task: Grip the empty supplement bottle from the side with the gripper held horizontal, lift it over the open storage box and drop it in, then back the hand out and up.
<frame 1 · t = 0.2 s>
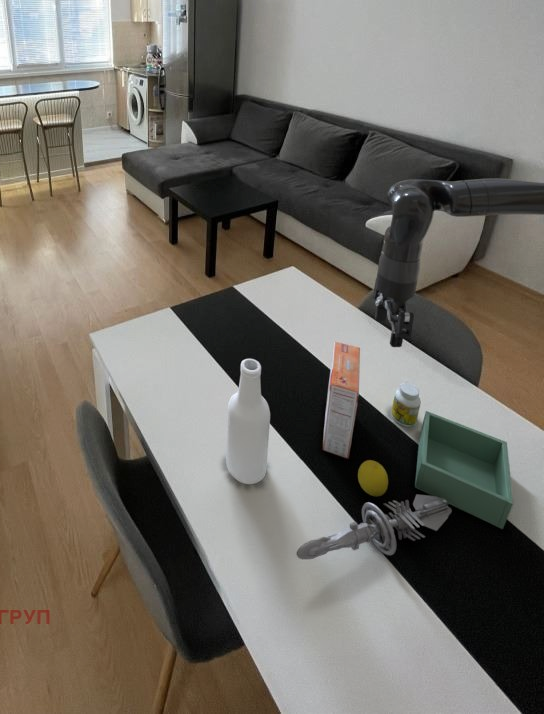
hand: (387, 332, 97), 26 cm above the table, tool pointing down, fingers open, 8 cm apart
cracker box: (336, 430, 103), on the table
lemon: (370, 491, 90), on the table
supplement bottle: (403, 418, 105), on the table
alcohol: (245, 467, 96), on the table
spaceship: (374, 541, 82), on the table
open storage box: (457, 476, 92), on the table
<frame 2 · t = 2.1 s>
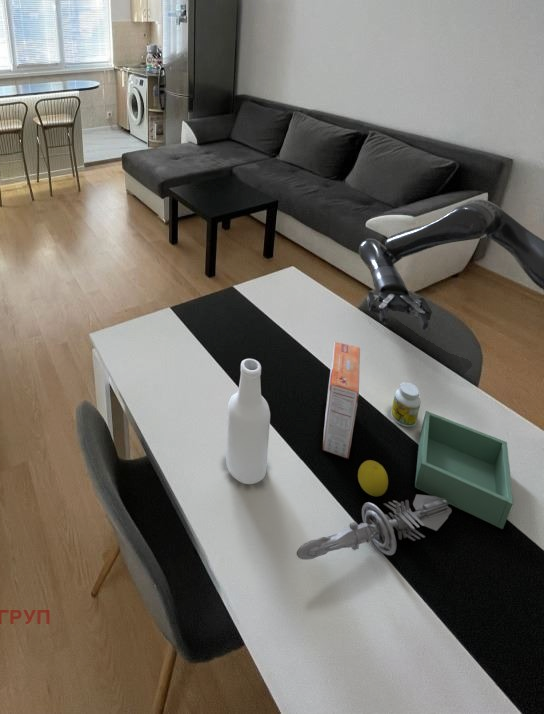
hand: (405, 324, 107), 20 cm above the table, tool horizontal, fingers open, 8 cm apart
nothing on the table moved.
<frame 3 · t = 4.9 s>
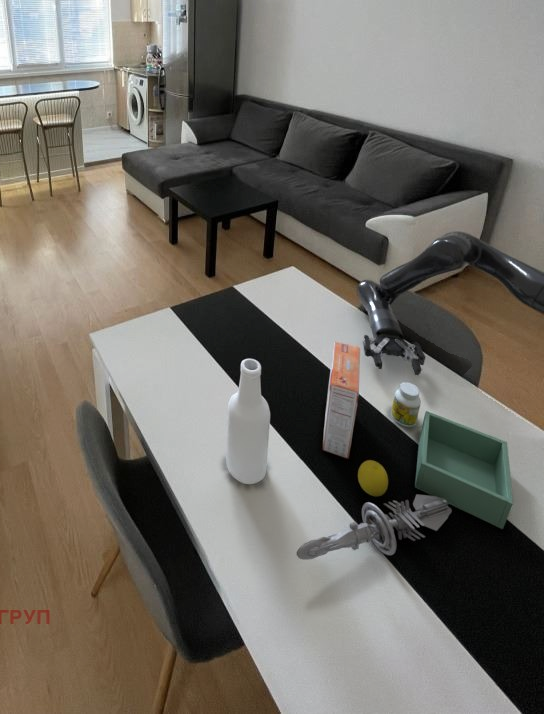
hand: (399, 370, 111), 7 cm above the table, tool horizontal, fingers open, 8 cm apart
nothing on the table moved.
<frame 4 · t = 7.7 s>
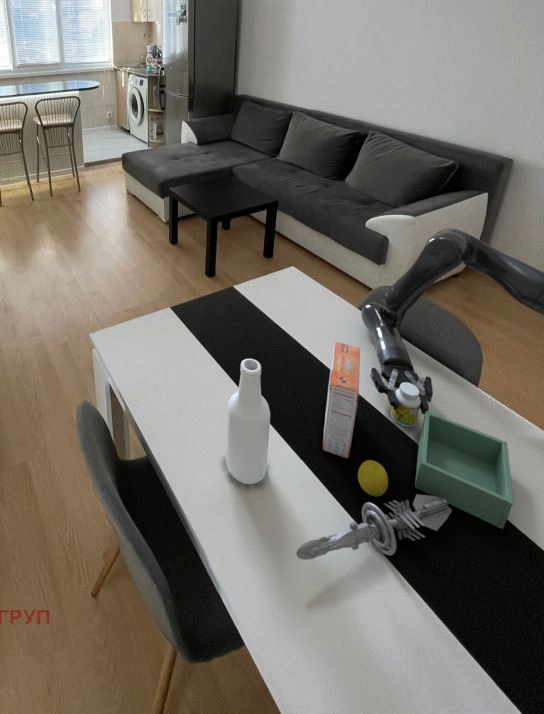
hand: (410, 408, 101), 6 cm above the table, tool horizontal, fingers closed on supplement bottle, 5 cm apart
supplement bottle: (403, 418, 105), on the table, touching gripper
everything else where it was.
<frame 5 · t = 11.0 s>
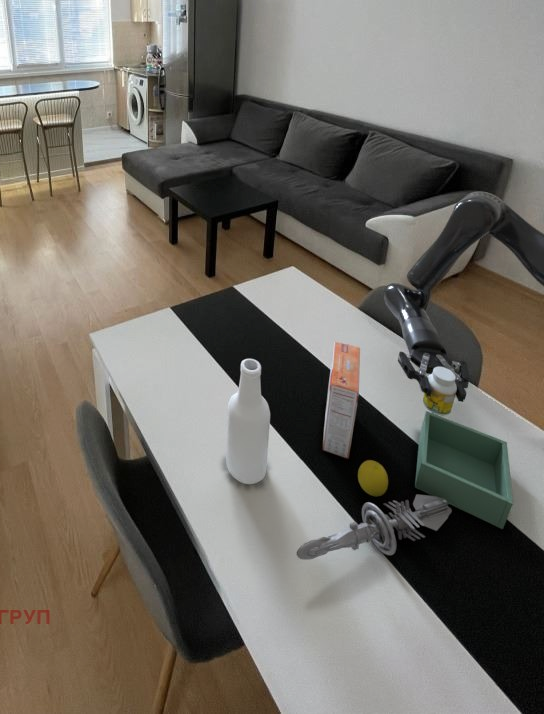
hand: (445, 395, 90), 18 cm above the table, tool horizontal, fingers closed on supplement bottle, 5 cm apart
supplement bottle: (435, 406, 95), point 11 cm above the table, touching gripper
everything else where it was.
when the fingers open (12 cm above the table, at t = 14.3 s): supplement bottle drops 5 cm, resting on open storage box.
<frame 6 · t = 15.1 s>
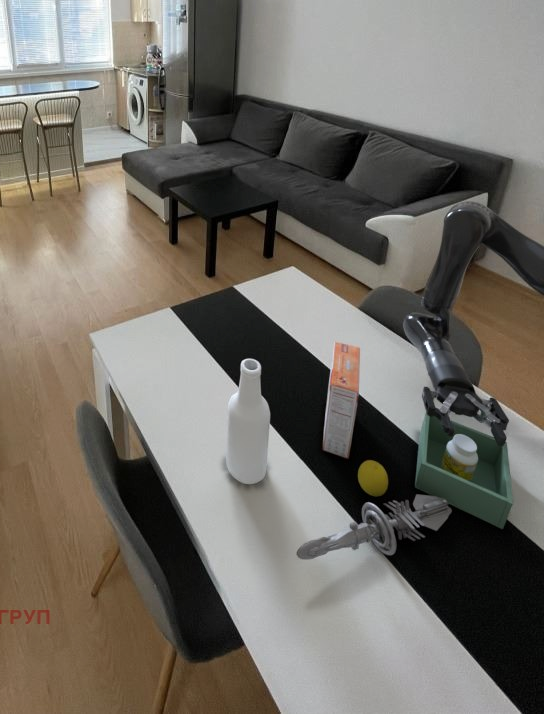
hand: (476, 438, 85), 14 cm above the table, tool horizontal, fingers open, 8 cm apart
supplement bottle: (455, 474, 92), resting on open storage box
everything else where it was.
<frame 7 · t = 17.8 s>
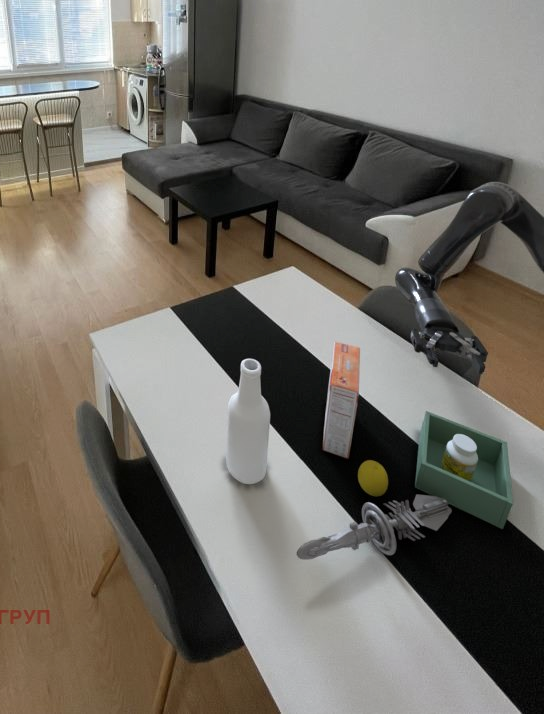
hand: (458, 367, 94), 20 cm above the table, tool horizontal, fingers open, 8 cm apart
nothing on the table moved.
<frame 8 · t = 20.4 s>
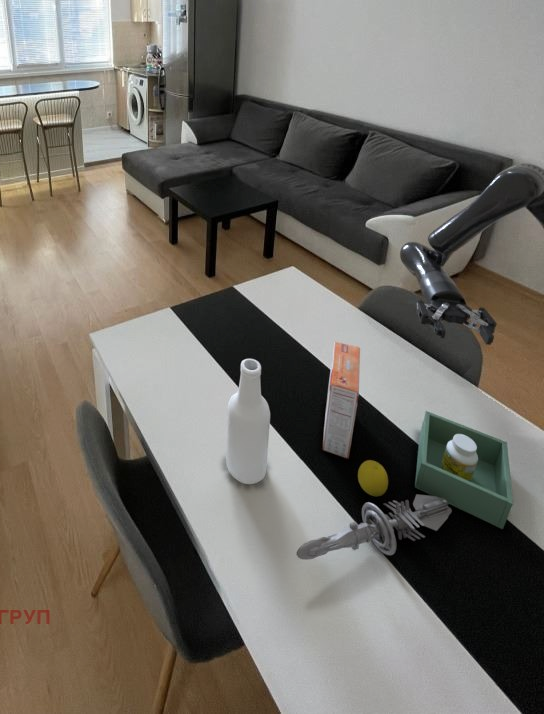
hand: (466, 338, 91), 28 cm above the table, tool horizontal, fingers open, 8 cm apart
nothing on the table moved.
at the end: supplement bottle inside the target area in the open storage box (0.4 cm from its centre), point 0.4 cm above the open storage box's base; the gripper is holding nothing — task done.
